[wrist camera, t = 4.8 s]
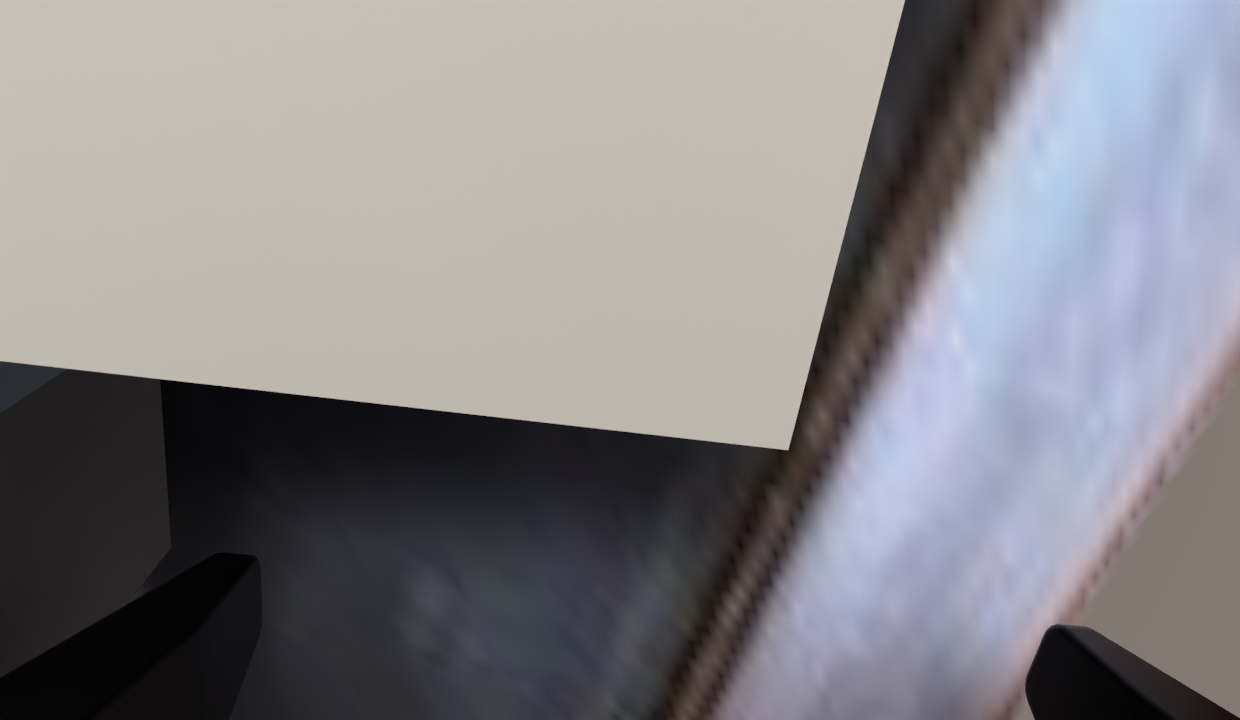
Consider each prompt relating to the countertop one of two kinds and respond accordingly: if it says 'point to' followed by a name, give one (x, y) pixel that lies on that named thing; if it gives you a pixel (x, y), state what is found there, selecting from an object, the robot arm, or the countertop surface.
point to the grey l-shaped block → (75, 501)
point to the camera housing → (440, 199)
